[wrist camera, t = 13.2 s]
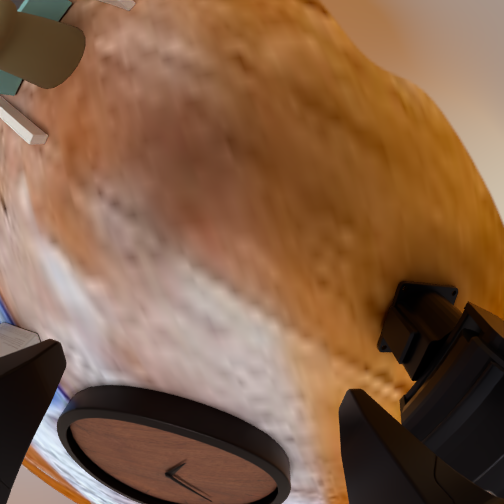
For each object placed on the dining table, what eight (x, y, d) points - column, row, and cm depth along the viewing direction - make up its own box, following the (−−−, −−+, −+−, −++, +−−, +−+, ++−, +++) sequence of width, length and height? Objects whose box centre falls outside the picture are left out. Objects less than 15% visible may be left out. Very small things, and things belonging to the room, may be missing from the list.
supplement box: (2, 320, 23) (-60, 374, 11) (39, 332, 23) (-29, 402, 11) (20, 366, 26) (-29, 423, 14) (58, 382, 26) (8, 452, 14)
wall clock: (18, 378, 21) (306, 426, 20) (35, 360, 25) (302, 394, 24) (106, 496, 31) (281, 522, 30) (112, 481, 35) (281, 504, 34)
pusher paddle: (72, 3, 13) (41, -17, 8) (14, 95, 16) (-23, 91, 11) (68, 1, 13) (37, -17, 8) (11, 93, 15) (-26, 89, 11)
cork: (71, 16, 14) (-7, -25, 3) (96, 48, 15) (3, 3, 5) (27, 65, 15) (-58, 48, 4) (47, 102, 16) (-53, 92, 6)
